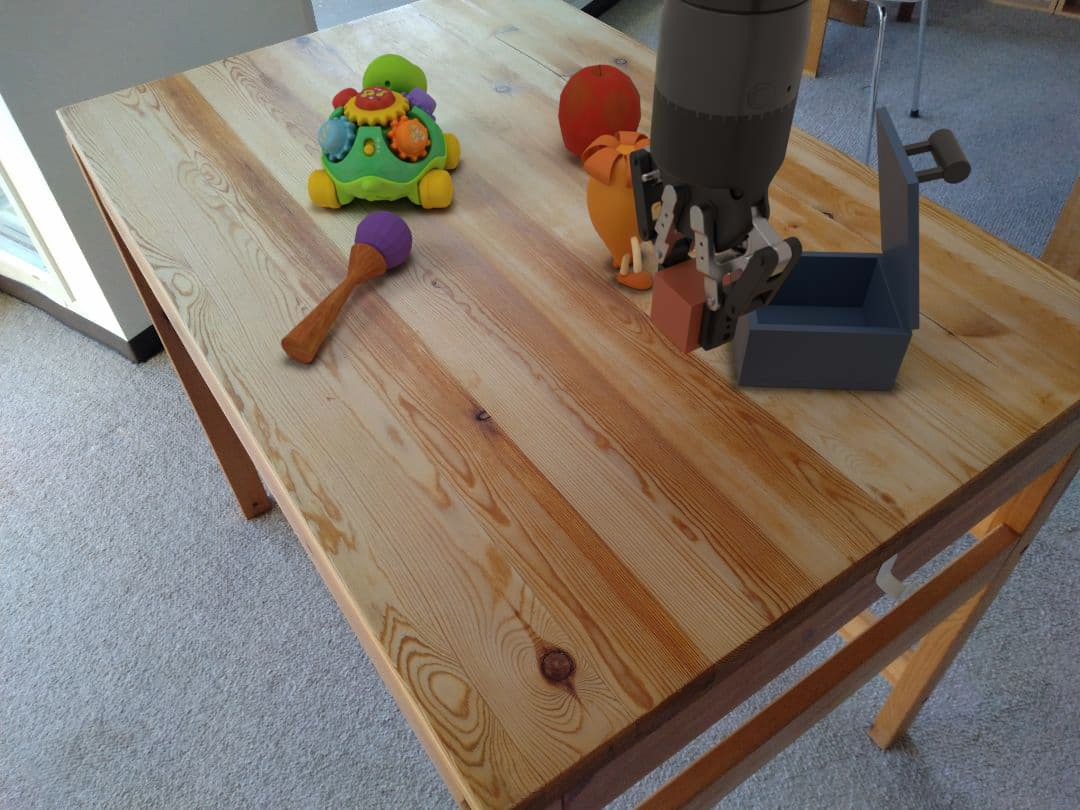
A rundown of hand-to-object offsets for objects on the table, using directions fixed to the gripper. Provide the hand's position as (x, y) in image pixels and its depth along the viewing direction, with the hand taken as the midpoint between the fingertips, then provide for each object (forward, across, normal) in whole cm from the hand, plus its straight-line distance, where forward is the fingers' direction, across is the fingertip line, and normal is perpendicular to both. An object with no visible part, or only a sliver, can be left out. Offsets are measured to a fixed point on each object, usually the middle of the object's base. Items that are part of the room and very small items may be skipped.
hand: (692, 323), depth 57 cm
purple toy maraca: (+18, +36, +14) cm, 43 cm away
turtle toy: (+18, +57, 0) cm, 60 cm away
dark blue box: (+18, +7, -21) cm, 28 cm away
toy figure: (+18, +26, -12) cm, 34 cm away
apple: (+18, +48, -23) cm, 56 cm away
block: (0, 0, 0) cm, 0 cm away
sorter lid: (+4, +5, -25) cm, 25 cm away
